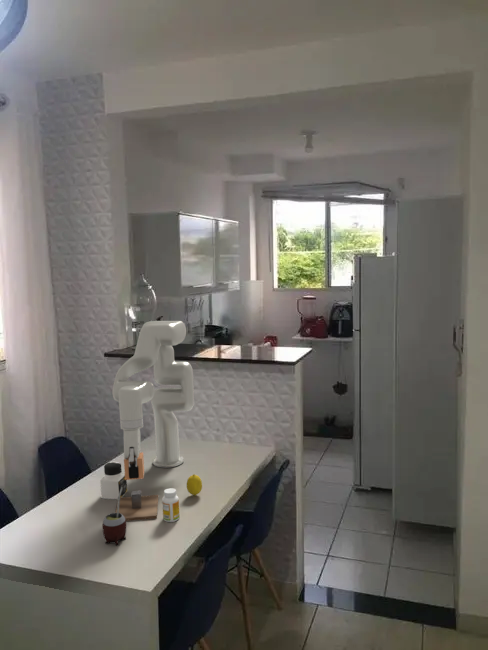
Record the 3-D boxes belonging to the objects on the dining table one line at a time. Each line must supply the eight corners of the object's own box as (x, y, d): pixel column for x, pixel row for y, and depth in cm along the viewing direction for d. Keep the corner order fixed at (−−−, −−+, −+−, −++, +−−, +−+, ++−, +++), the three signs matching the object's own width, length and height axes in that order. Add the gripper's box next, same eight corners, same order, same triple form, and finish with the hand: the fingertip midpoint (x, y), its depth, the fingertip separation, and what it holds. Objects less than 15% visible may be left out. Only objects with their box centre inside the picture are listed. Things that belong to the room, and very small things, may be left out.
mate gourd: (106, 549, 168) (102, 501, 166) (101, 537, 176) (98, 491, 173) (130, 543, 171) (127, 496, 169) (125, 531, 178) (122, 486, 176)
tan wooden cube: (126, 473, 194) (125, 453, 194) (144, 471, 195) (143, 452, 194) (125, 480, 189) (123, 459, 188) (143, 478, 189) (142, 458, 188)
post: (132, 504, 195) (132, 491, 194) (141, 504, 195) (140, 490, 194) (132, 508, 192) (131, 494, 191) (141, 508, 192) (140, 494, 192)
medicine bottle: (119, 499, 201) (117, 467, 200) (101, 498, 203) (98, 466, 201) (127, 491, 208) (125, 460, 207) (109, 490, 210) (107, 459, 208)
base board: (118, 500, 201) (118, 497, 201) (158, 497, 202) (158, 494, 202) (113, 522, 185) (113, 519, 185) (156, 518, 187) (156, 515, 186)
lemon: (183, 496, 203) (182, 474, 202) (195, 491, 207) (194, 470, 206) (194, 500, 199) (193, 478, 198) (205, 495, 203) (204, 474, 202)
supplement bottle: (179, 513, 189) (177, 486, 188) (180, 521, 184) (178, 493, 183) (162, 515, 188) (161, 488, 187) (163, 523, 183) (162, 495, 182)
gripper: (122, 416, 197) (125, 465, 200) (117, 431, 180) (121, 485, 183) (144, 414, 198) (147, 463, 201) (141, 430, 181) (144, 483, 184)
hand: (134, 473), depth 192 cm, fingers closed on tan wooden cube, 5 cm apart
